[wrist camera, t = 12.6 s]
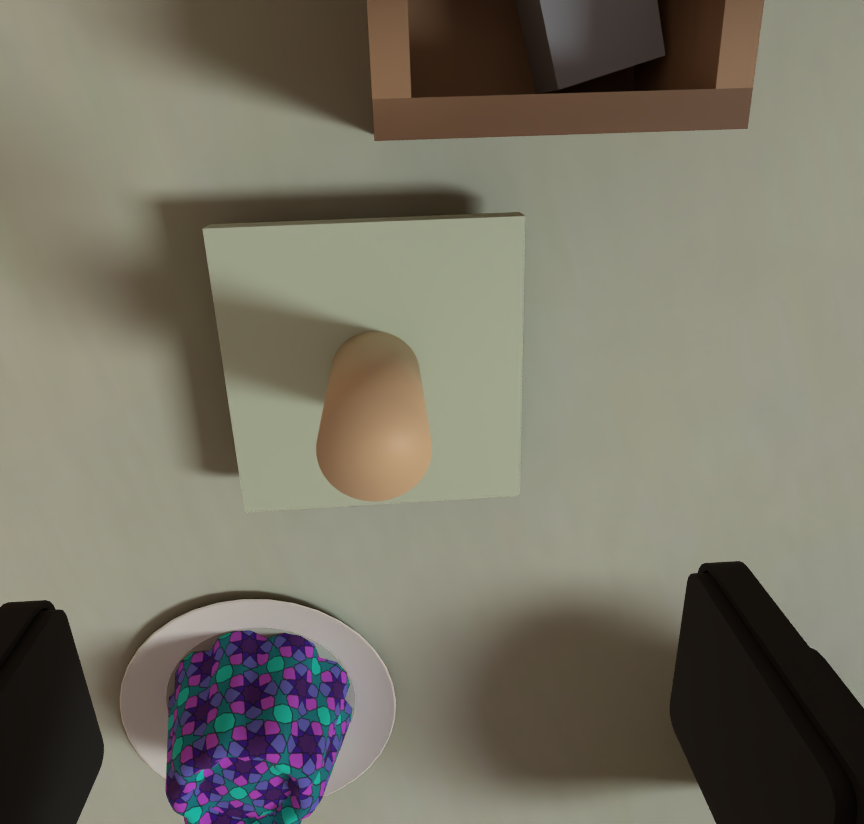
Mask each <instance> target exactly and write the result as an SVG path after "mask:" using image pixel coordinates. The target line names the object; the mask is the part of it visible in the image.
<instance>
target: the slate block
mask: <svg viewBox="0 0 864 824" xmlns="http://www.w3.org/2000/svg"><path fill="white" fill-rule="evenodd" d="M515 1H516V6H517V10H518V15H519V19H520V24H521V28H522V33H523V37H524V42H525V47H526V51H527V56H528V60H529V65H530V69H531V74H532V79H533V83H534V88H535V92H536V94H538V93H544V92H550V91H556V90H560V89H563V88H566V87H569V86H572V85H575V84H579V83H582V82H585V81H588V80H591V79H594V78H597V77H600V76H603V75H606V74H609V73H613V72H616V71H619V70H622V69H625V68H628V67H631V66H634V65H637V64H640V63H643V62H647V61H650V60H653V59H656V58H659V57H662V56H665V49H664V42H663V35H662V29H661V22H660V15H659V9H658V2H657V0H515Z"/></svg>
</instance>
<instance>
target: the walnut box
mask: <svg viewBox="0 0 864 824" xmlns="http://www.w3.org/2000/svg"><path fill="white" fill-rule="evenodd" d="M657 2H658V9H659V15H660V22H661V29H662V35H663V42H664V49H665V56H662V57H659V58H656V59H653V60H650V61H647V62H643V63H640V64H637V65H634V66H631V67H628V68H625V69H622V70H619V71H616V72H613V73H609V74H606V75H603V76H600V77H597V78H594V79H591V80H588V81H585V82H582V83H579V84H575V85H572V86H569V87H566V88H563V89H560V90H556V91H550V92H544V93H538V94H536V92H535V88H534V83H533V79H532V74H531V69H530V65H529V60H528V56H527V51H526V47H525V42H524V37H523V33H522V28H521V24H520V19H519V15H518V10H517V6H516V1H515V0H367V15H368V33H369V51H370V69H371V87H372V105H373V123H374V141H385V140H415V139H446V138H477V137H507V136H538V135H568V134H599V133H629V132H660V131H690V130H721V129H747V128H748V121H749V113H750V105H751V98H752V90H753V82H754V75H755V67H756V59H757V52H758V44H759V36H760V29H761V21H762V14H763V6H764V0H657Z"/></svg>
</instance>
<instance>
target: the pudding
mask: <svg viewBox="0 0 864 824" xmlns="http://www.w3.org/2000/svg"><path fill="white" fill-rule="evenodd" d="M244 628H274V629H281V630H286V631H290V632H293V633H296V634H300V635H302V636H305V637H307V638H309V639H311V640H313V641H315V642H317V643H318V644H320V645H321V646H323V647H324V648H326V649H327V650H329V651H330V652H331V653H332V654H333V655H334V656H335V657H336V658H337V659H338V660H339V661H340V662H341V664H342V665H343V666H344V668H345V669H346V671H347V672H348V674H349V677H350V679H351V681H352V684H353V688H354V693H355V709H354V713H353V717H352V721H351V714H352V708H351V707H350V705H349V704H348V703H347V702H346V700H345V697H346V694H347V691H348V688H349V686H350V683H349V680H348V676H347V673H346V671H345V670H344V669H343V668H342V667H341V666H340V665H339V664H338V663H337V662H334V661H330V660H326V659H322V658H319V655H318V653H317V650H316V648H315V645H314V644H313V643H311V642H310V641H308V640H306V639H305V638H303V637H301V636H298V635H292V634H287V633H282V634H279V635H276V636H273V637H270V638H265V637H263V636H261V635H259V634H257V633H255V632H253V631H233V632H231V633H228V634H226V635H223V636H221V637H219V638H218V640H217V641H216V643H215V645H214V646H213V648H212V650H211V651H201V652H192V653H191V654H190V655H189V656H187V657H186V658H185V659H183V660H182V661H181V662H180V664H179V667H178V669H177V671H176V673H175V692H174V694H173V695H172V696H170V697H169V711H168V709H167V700H166V695H167V687H168V683H169V680H170V677H171V674H172V672H173V670H174V669H175V667H176V666H177V664H178V663H179V661H180V660H181V659H182V658H183V657H184V656H185V655H186V654H187V653H188V652H189V651H190V650H191V649H193V648H194V647H195V646H197V645H198V644H200V643H201V642H203V641H205V640H207V639H209V638H211V637H213V636H215V635H218V634H221V633H225V632H228V631H231V630H237V629H244ZM119 704H120V711H121V718H122V723H123V725H124V728H125V731H126V733H127V736H128V739H129V740H130V742H131V744H132V745H133V747H134V748H135V750H136V751H137V753H138V755H139V756H140V757H141V758H142V759H143V760H144V761H145V762H146V763H147V764H148V766H149V767H150V768H151V769H152V770H153V771H155V772H156V773H157V774H159V775H160V776H161V777H162V778H164V779H165V780H166V795H167V798H168V801H169V803H170V805H171V807H172V808H173V810H174V811H175V812H176V813H178V814H180V815H182V816H184V821H185V824H300V823H301V821H302V819H304V818H306V817H308V816H310V815H311V813H312V812H313V811H314V810H315V808H316V807H317V805H318V804H319V802H320V801H321V799H322V797H324V796H326V795H328V794H331V793H333V792H335V791H338V790H339V789H341V788H343V787H344V786H346V785H347V784H349V783H351V782H352V781H354V780H355V779H357V778H358V777H359V776H360V775H361V774H362V773H364V772H365V771H366V770H367V769H368V768H369V767H370V766H371V765H372V764H373V763H374V761H375V760H376V759H377V758H378V756H379V755H380V754H381V753H382V751H383V749H384V747H385V745H386V743H387V741H388V740H389V738H390V735H391V732H392V728H393V725H394V721H395V712H396V698H395V692H394V687H393V682H392V680H391V677H390V675H389V673H388V670H387V668H386V665H385V664H384V662H383V661H382V660H381V658H380V657H379V655H378V654H377V652H376V651H375V649H374V648H373V647H372V646H371V645H370V644H369V643H368V642H367V641H366V640H365V639H364V638H363V637H362V636H361V635H360V634H358V633H357V632H356V631H354V630H353V629H351V628H350V627H348V626H347V625H345V624H344V623H343V622H341V621H339V620H337V619H335V618H333V617H331V616H329V615H327V614H325V613H323V612H321V611H318V610H315V609H312V608H309V607H305V606H302V605H299V604H295V603H290V602H283V601H276V600H269V599H241V600H234V601H227V602H219V603H215V604H212V605H208V606H205V607H201V608H198V609H195V610H192V611H190V612H188V613H186V614H184V615H182V616H179V617H177V618H175V619H173V620H171V621H170V622H168V623H167V624H166V625H164V626H163V627H161V628H160V629H159V630H157V631H156V632H154V633H153V634H152V635H151V636H150V637H149V638H148V639H147V640H146V641H145V642H144V643H143V644H142V645H141V646H140V648H139V649H138V650H137V652H136V653H135V655H134V656H133V658H132V660H131V661H130V663H129V664H128V666H127V669H126V672H125V675H124V678H123V681H122V683H121V692H120V702H119ZM350 722H351V723H350ZM349 724H350V725H349Z"/></svg>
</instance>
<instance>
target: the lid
mask: <svg viewBox="0 0 864 824" xmlns="http://www.w3.org/2000/svg"><path fill="white" fill-rule="evenodd" d="M203 236H204V243H205V249H206V256H207V263H208V269H209V276H210V283H211V289H212V296H213V303H214V310H215V316H216V323H217V330H218V336H219V343H220V350H221V356H222V363H223V370H224V376H225V383H226V390H227V397H228V403H229V410H230V417H231V423H232V430H233V437H234V443H235V450H236V457H237V463H238V470H239V477H240V484H241V490H242V497H243V504H244V510H245V512H259V511H276V510H293V509H309V508H326V507H343V506H359V505H376V504H392V503H409V502H426V501H442V500H459V499H475V498H492V497H509V496H520V458H521V408H522V358H523V309H524V259H525V215H523V214H522V213H520V212H511V213H486V214H460V215H434V216H409V217H383V218H358V219H332V220H306V221H281V222H255V223H229V224H209V225H208V226H206V227H204V228H203Z"/></svg>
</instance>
